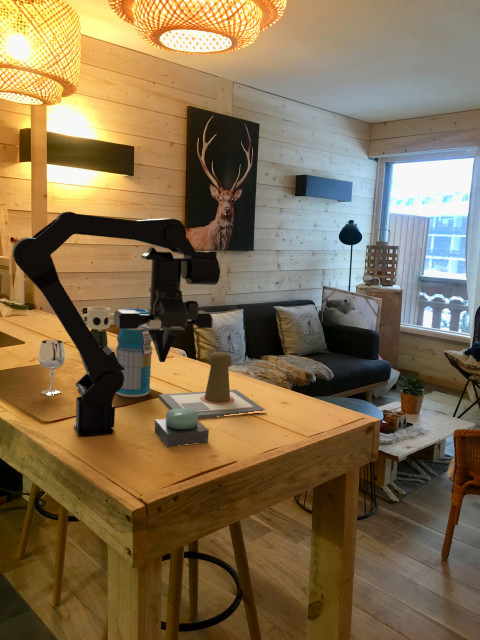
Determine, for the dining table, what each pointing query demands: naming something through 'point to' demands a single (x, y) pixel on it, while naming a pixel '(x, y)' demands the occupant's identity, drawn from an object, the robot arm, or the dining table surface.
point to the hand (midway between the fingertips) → (161, 361)
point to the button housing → (180, 434)
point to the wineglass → (51, 359)
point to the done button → (181, 418)
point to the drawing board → (210, 404)
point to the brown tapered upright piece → (218, 378)
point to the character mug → (98, 323)
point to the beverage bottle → (135, 359)
